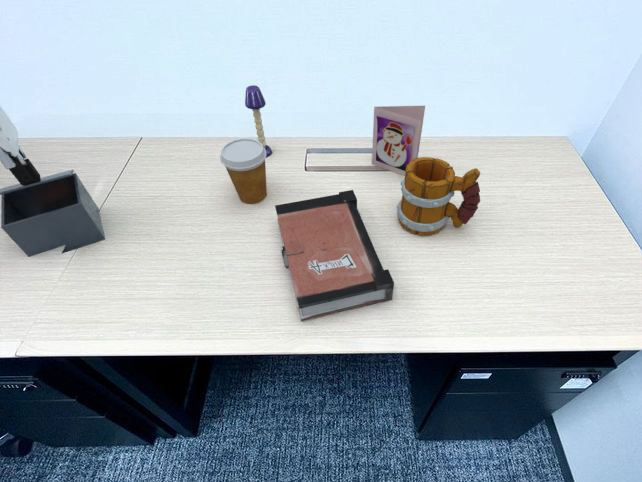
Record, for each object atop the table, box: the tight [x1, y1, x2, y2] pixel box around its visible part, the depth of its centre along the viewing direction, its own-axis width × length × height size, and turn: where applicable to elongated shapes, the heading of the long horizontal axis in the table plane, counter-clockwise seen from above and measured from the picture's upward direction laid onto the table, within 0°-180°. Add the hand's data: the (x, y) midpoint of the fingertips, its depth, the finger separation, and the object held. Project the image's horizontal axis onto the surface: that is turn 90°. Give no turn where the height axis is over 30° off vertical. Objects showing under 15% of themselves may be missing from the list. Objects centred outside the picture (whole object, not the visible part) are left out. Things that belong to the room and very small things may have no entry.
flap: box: [0, 169, 75, 196], centre depth 76 cm, size 13×5×1 cm, turn 120°
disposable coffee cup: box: [219, 137, 268, 205], centre depth 87 cm, size 10×10×12 cm
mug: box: [396, 156, 481, 237], centre depth 80 cm, size 11×16×15 cm, turn 70°
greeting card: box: [371, 105, 426, 177], centre depth 93 cm, size 11×7×15 cm, turn 58°
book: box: [274, 189, 395, 322], centre depth 77 cm, size 26×18×5 cm
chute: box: [0, 172, 106, 258], centre depth 79 cm, size 13×11×10 cm
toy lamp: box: [244, 84, 273, 158], centre depth 96 cm, size 5×5×17 cm
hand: (31, 181), depth 74 cm, fingers closed
